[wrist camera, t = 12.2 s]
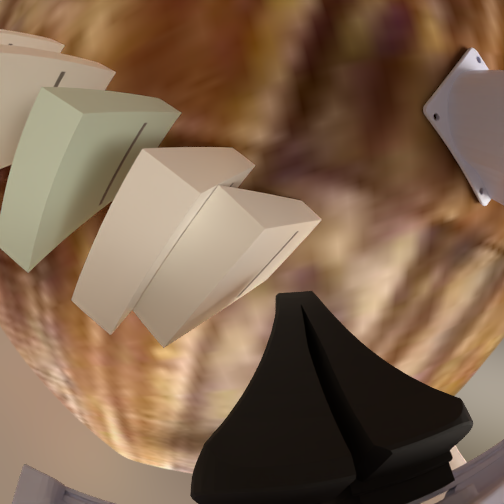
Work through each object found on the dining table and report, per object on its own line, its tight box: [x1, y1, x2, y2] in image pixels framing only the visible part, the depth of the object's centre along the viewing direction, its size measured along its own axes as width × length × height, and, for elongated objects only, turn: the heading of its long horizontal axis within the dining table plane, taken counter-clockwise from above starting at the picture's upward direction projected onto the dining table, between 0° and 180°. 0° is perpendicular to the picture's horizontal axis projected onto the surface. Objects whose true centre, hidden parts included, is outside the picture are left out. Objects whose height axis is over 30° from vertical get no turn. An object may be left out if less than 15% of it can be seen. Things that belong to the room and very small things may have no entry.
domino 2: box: [71, 147, 255, 335], centre depth 11 cm, size 2×5×10 cm, turn 142°
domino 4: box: [0, 44, 116, 169], centre depth 8 cm, size 2×5×10 cm, turn 142°
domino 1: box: [133, 185, 322, 348], centre depth 12 cm, size 2×5×10 cm, turn 141°
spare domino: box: [0, 87, 181, 273], centre depth 10 cm, size 2×5×10 cm, turn 142°
